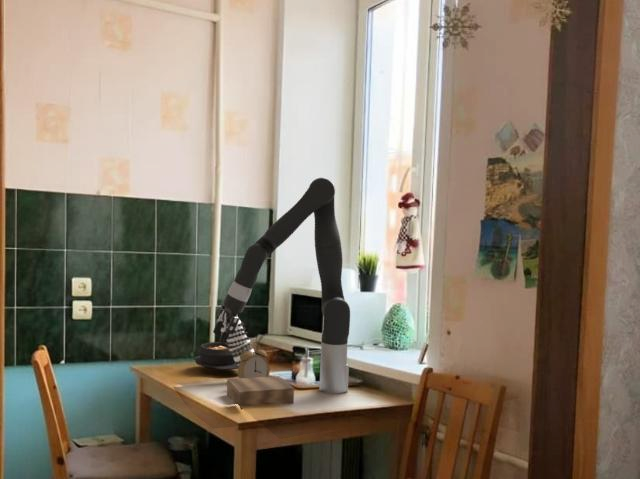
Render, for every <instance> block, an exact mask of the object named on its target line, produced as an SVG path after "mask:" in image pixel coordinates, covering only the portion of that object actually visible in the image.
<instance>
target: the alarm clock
mask: <svg viewBox="0 0 640 479" xmlns="http://www.w3.org/2000/svg"><path fill="white" fill-rule="evenodd" d="M250 344H251V345H249V346H248V347H247V348H246V349H245V351H243V353H242V354H241V355H240V359H241V362H240V364H239V366H238V369H237V375H238V376H237V377H238V378H253V377H270V363H269V362H268V359H266V358H268V353H267V352H266V351H265V349H264V348H262V347H261V345H259V344H256V343H250ZM250 346H256V347H258V349H256V350H254V352H253V353H252V352H251V351H247V350H248V348H249V347H250ZM254 353H255V354H254Z"/></svg>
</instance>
